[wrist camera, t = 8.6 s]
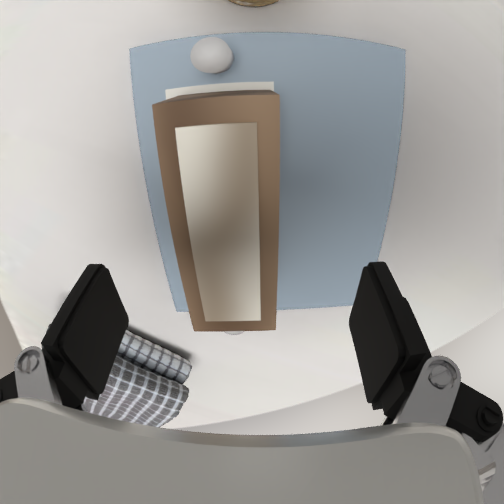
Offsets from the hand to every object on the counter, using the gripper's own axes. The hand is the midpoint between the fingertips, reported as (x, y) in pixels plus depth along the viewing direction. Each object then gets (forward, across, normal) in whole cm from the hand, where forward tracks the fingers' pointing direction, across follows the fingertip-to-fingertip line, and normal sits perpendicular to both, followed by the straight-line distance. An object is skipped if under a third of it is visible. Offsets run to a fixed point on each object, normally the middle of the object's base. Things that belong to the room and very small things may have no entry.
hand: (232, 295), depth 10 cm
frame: (+9, +1, 0) cm, 9 cm away
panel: (+10, -2, 0) cm, 10 cm away
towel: (+10, +17, +20) cm, 28 cm away
